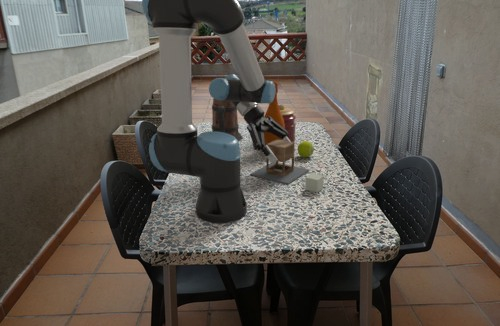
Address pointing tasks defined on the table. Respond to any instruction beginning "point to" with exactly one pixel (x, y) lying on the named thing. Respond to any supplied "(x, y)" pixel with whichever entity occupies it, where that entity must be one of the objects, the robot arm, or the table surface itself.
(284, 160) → the wooden nightstand
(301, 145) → the tennis ball
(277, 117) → the wine bottle
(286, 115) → the canister
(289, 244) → the table surface
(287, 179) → the mat
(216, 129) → the tankard
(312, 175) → the block
